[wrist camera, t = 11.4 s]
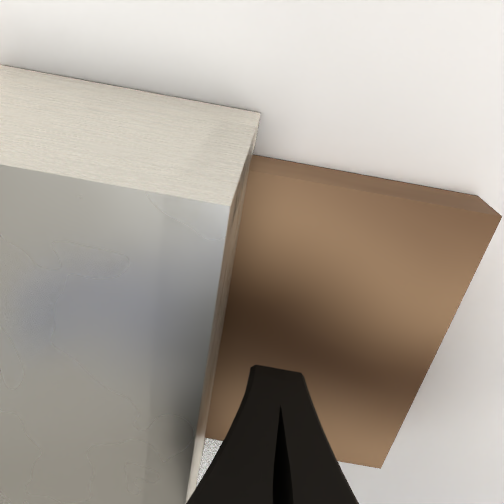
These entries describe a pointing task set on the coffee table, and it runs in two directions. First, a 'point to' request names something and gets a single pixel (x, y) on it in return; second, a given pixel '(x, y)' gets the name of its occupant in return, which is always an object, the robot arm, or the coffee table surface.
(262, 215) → the pin board
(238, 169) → the cover
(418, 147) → the coffee table surface
